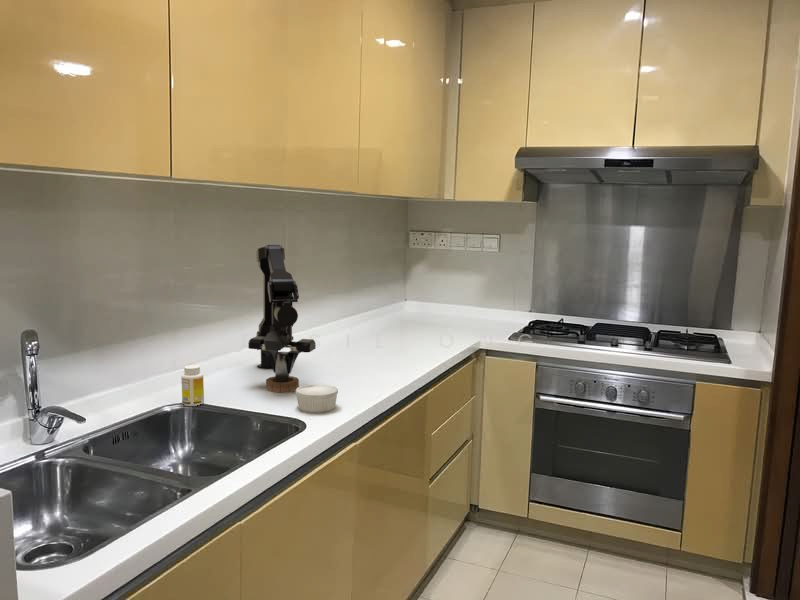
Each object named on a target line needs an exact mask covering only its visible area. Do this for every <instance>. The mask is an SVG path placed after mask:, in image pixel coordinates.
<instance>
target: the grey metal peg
mask: <svg viewBox="0 0 800 600" xmlns="http://www.w3.org/2000/svg"><path fill="white" fill-rule="evenodd" d="M287 352H288V351H278V352H276V353H275V373H274V376H275V382H279V383H283V382H289V376H290V374H288V354H287Z"/></svg>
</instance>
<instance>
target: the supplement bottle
mask: <svg viewBox="0 0 800 600" xmlns="http://www.w3.org/2000/svg"><path fill="white" fill-rule="evenodd" d="M183 372H184V373H182V375H181V403H182V404H184V405H183V406H185V407H198V406H201V405H203V404H204V402H205V394H204V393H205V391H204V374H203V372H201V367H200V365H199V364H190V365H185V366H184V370H183ZM200 404H201V405H200ZM197 405H198V406H197Z"/></svg>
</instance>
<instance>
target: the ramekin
mask: <svg viewBox="0 0 800 600" xmlns="http://www.w3.org/2000/svg"><path fill="white" fill-rule="evenodd" d="M338 393H339V388H338V387H337V386H334V385H331V384H323V383H322V384H321V383H318V384H317V383H315V384H304V385H299V387H298V388H297V389H296V390H295V394H296V400H297V405H298V408H299V409H300V411H302V412H305V413H310V414H320V413H328V412H330V410H331V411H333V410H334V408H335V407H336V404H337V397H338Z"/></svg>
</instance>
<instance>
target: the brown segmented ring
mask: <svg viewBox="0 0 800 600" xmlns="http://www.w3.org/2000/svg"><path fill="white" fill-rule="evenodd" d="M298 387H300V381H299V378H298V377H296V376H293V375H289V382H283V383H279V382H275V375H274V376H270V377H268V378H266V379H265V389H266V390H267V391H268V392H273V393H289V392H294V391H295V392H296V389H297V388H298Z"/></svg>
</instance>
